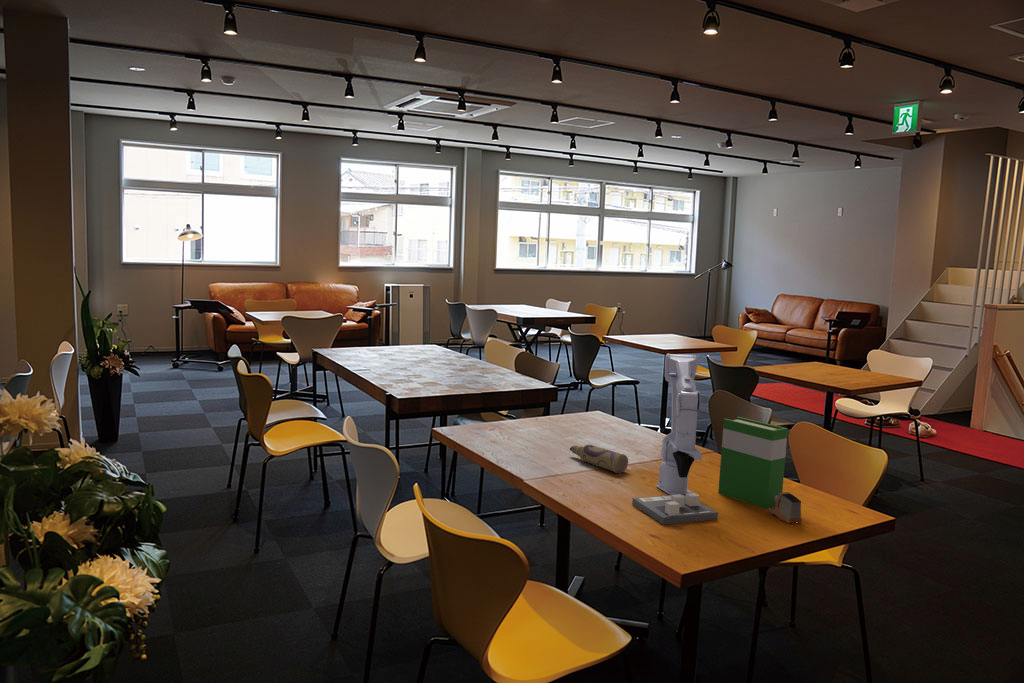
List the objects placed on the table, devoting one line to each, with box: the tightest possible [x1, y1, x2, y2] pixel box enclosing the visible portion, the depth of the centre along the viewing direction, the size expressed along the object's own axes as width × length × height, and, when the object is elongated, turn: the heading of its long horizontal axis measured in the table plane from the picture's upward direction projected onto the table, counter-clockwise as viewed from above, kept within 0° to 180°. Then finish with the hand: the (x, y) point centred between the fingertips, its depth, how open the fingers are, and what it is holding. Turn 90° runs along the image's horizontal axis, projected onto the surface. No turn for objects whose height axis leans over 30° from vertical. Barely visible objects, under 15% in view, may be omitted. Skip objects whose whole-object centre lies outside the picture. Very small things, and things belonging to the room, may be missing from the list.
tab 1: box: [665, 501, 680, 515], centre depth 203 cm, size 2×3×3 cm
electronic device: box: [767, 491, 802, 524], centre depth 210 cm, size 4×10×8 cm, turn 17°
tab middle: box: [671, 494, 685, 508], centre depth 210 cm, size 2×3×3 cm
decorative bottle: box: [569, 444, 629, 474], centre depth 258 cm, size 26×8×7 cm, turn 37°
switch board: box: [632, 494, 719, 526], centre depth 211 cm, size 17×18×2 cm
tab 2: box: [685, 492, 700, 506], centre depth 212 cm, size 2×3×3 cm
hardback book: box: [717, 416, 789, 510], centre depth 225 cm, size 18×7×24 cm, turn 37°
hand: (682, 476), depth 215 cm, fingers closed
